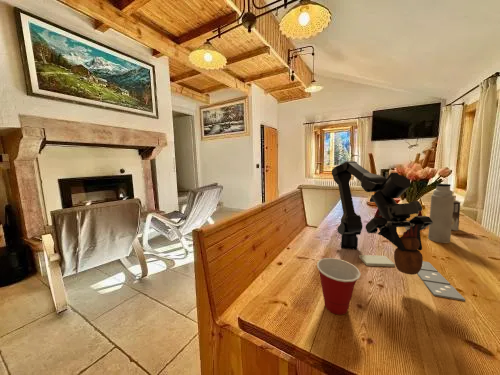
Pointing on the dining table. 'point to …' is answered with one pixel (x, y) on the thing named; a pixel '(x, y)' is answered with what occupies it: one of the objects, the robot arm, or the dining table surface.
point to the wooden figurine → (409, 253)
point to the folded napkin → (376, 260)
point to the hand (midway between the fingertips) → (412, 250)
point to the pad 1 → (428, 267)
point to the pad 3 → (444, 291)
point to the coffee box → (455, 216)
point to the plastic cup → (337, 283)
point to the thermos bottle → (441, 214)
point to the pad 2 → (432, 277)
